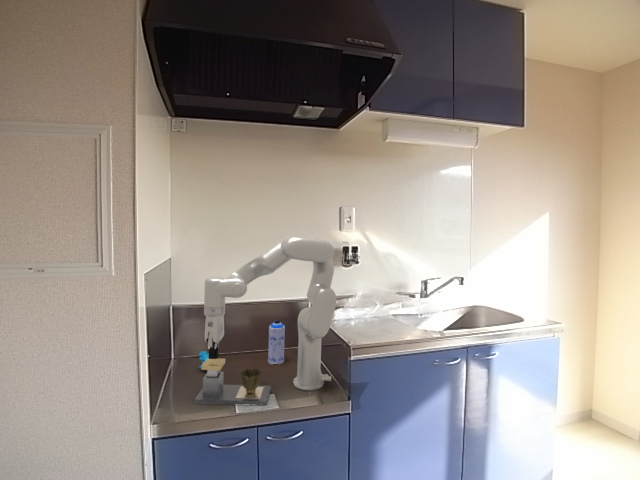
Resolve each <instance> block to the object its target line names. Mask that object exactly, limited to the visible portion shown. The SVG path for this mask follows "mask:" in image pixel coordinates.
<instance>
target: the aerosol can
mask: <svg viewBox="0 0 640 480" xmlns="http://www.w3.org/2000/svg"><path fill="white" fill-rule="evenodd" d="M280 320H281V319H278V318H277V319H274V322H272V323H271V324H270V325H269V326H268V354H267V355H268V357H267V363H268V362H269V363H268V364H270V365H273V364H278V365H281V363H282V364H284V363H285V339H286V338H285V337H286V335H285V333H286V331H285V329H286V328H285V327H286V326H285V325H284V324H283V323H282V322H280ZM283 362H284V363H283Z"/></svg>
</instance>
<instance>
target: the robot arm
mask: <svg viewBox="0 0 640 480" xmlns="http://www.w3.org/2000/svg"><path fill="white" fill-rule="evenodd" d="M334 256H335V248H334V245H332V244H331V242H329V241H327V240H322V239H319V238H317V239H311V238H305V237H299V236H294V235H287V236H285V237H284V238H282V239H280V240H279V241H278V242H276V243H275V244H274V245H272V246H271V247H269V248H268V249H267V250H266V251H264V252H262V253H261V254H260V255H258V256H256V257H254V258H253V259H251V260H250V261H248V262H247V263H245V264H243V265H242V266H241V267H239V268H237V269H236V270H235V271H233V272H232V273H231V274H229V275H228V276H227V278H225V277H222V276H209V277H207V278H205V280H204V296H203V297H204V299H203V302H204V305H203V315H204V317H205V325H204V342H205V343H207V348H208V353H209V359H217V358H218V359H219V346H220V345H219V343H220V341H221V340H222V339H223V337H224V336H225V316H224V315H225V314H226V298H232V299H233V298H234V299H238V298H242V297H243V296H244V295H246V293H247V291H248V285H249V284H250V283H252V282H253V281H255V280H256V279H258V278H260V277H264V276H267V275H271V274H274V273H275V272H276V271H278V270H279V269H280V268H281V267H283V266H284V265H286V264H287V263H288V262H290V261H291V260H292V259H293V260H297V261H304V262H311V263H312V265H313V270H312V273H311V274H312V275H311V278H310V282H309V286H308V289H307V293H306V298H307V301H308V303H309V304H311V307H310V306H308V307H305V308H303V309H302V310H301V311H300V312H299V313H298V316H297V332H298V333H297V334H298V345H297V346H298V347H297V371H296V373H297V375H296V377H294V378H293V386H294V387H296V388H297V389H299V390H302V391H315V390H319V389H321V388H322V387H323V386H324V384H325V382H331V381H332V375H329V374H328V373H327V374H326V373H325V374H323V373H322V370H321V365H322V359H321V358H322V339H323V338H324V337H325V336H326V335H327V334H328V332H329V330H330V328H331V325H332V322H333V318H334V314H335V311H336V306H337V300H338V299H337V294H336V292H335V291H334V290H333V288H331V286H332V284H333V283H332V282H333V277H334V272H335V264H334V260H333V257H334Z"/></svg>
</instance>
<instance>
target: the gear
mask: <svg viewBox="0 0 640 480" xmlns="http://www.w3.org/2000/svg"><path fill="white" fill-rule="evenodd" d="M198 357H199V361H201V365H200V366H199V367H198V368H199V369H200V370H201V366H202V364H203V363H204V362H205V360H206V359H207V358H209V352H207V351H206V350H204V351H200V352H199V354H198Z"/></svg>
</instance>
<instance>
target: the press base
mask: <svg viewBox="0 0 640 480" xmlns="http://www.w3.org/2000/svg"><path fill="white" fill-rule="evenodd" d="M270 393H271V385H259V386H258V387H257V388H256V391H255V392H254V393H252V394H249V393H247V392H246V389H245V388H244V387H243V384H224V371H220V375H219V377H218V378H208V377H207V372H206V373H205V375H204V376H203V378H202V388H201V389H200V391H199V392H198V394H197V395H196V396H195V398H194V400H193V401H194V404H200V405H204V404H205V405H232V404H260V405H259V406H267V405H268V404H267V403H268V401H267V400H269V397H270ZM261 404H262V405H261Z"/></svg>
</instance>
